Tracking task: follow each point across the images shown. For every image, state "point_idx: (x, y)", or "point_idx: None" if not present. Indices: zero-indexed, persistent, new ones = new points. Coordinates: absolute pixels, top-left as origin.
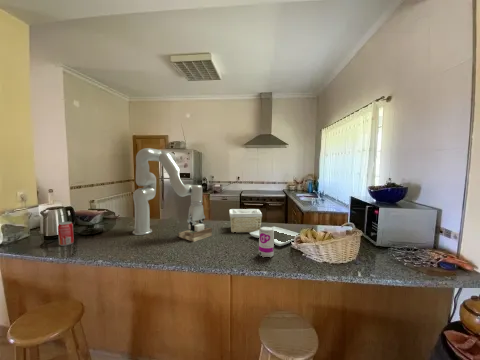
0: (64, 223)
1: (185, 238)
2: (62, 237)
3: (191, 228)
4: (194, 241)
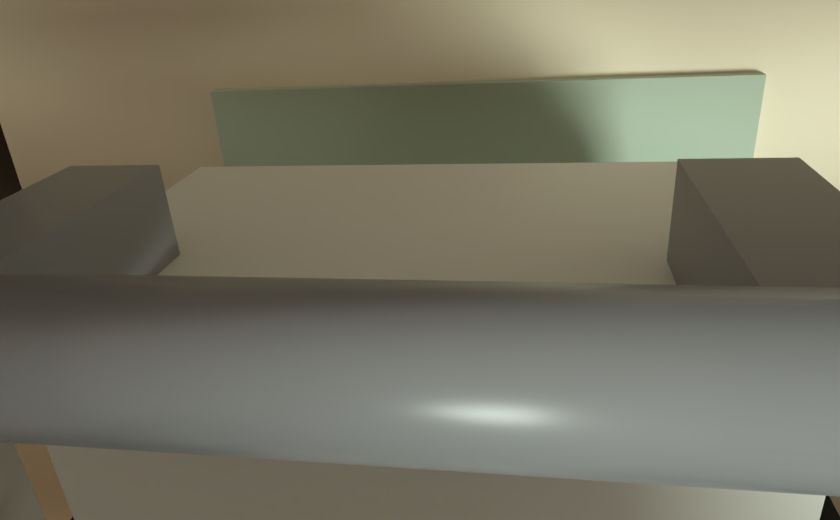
0: None
1: None
2: None
3: None
4: None
